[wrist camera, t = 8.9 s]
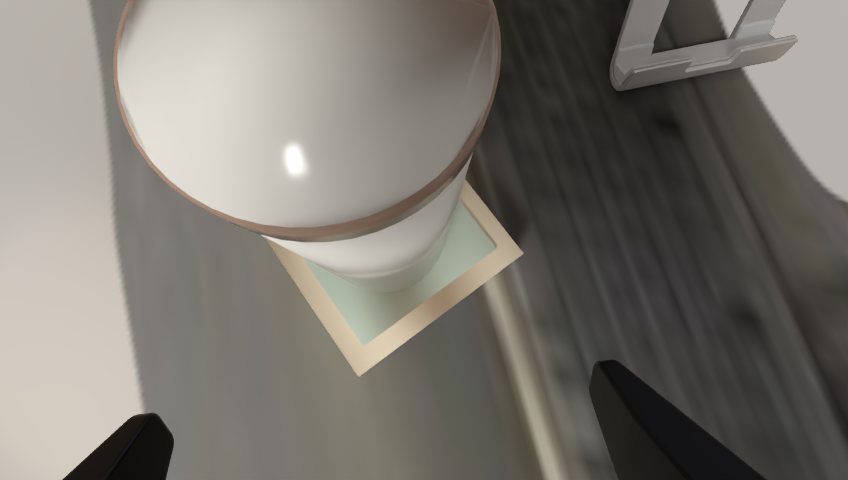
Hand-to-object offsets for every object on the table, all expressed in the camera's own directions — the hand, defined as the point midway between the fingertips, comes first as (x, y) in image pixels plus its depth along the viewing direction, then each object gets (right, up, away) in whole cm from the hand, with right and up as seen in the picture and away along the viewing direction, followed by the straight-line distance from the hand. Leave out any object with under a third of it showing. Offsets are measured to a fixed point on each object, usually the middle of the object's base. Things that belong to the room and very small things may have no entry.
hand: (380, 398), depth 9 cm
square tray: (-1, +3, +12) cm, 13 cm away
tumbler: (-1, +4, +10) cm, 11 cm away
